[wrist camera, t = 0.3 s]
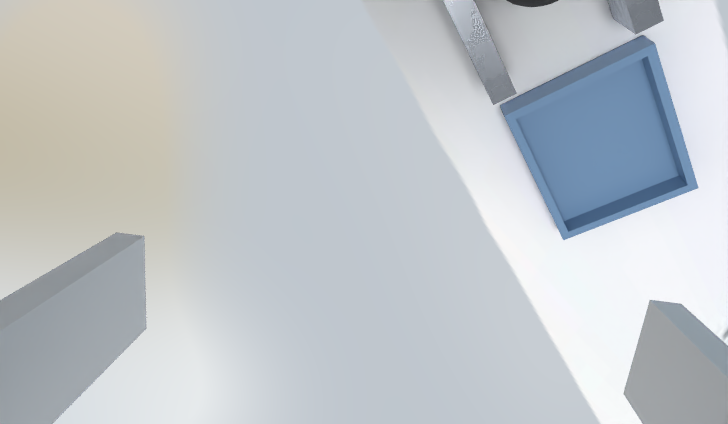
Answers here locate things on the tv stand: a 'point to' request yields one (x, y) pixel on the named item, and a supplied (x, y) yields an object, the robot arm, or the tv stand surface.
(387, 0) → the tv stand surface
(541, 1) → the black round speckled part
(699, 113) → the tv stand surface
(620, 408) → the tv stand surface
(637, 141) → the parts tray
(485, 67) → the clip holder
